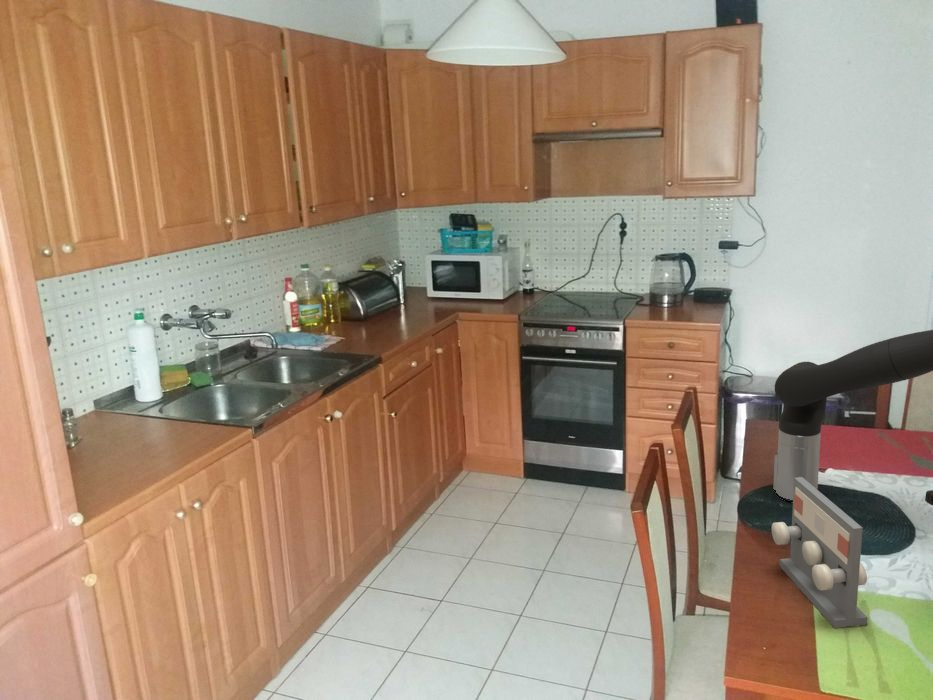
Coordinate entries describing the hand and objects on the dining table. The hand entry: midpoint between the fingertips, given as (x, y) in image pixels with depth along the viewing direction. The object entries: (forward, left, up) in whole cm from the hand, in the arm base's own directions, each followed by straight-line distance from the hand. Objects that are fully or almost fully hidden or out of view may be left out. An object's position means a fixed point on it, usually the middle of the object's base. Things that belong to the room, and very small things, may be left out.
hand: (928, 498), depth 133 cm
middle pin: (-11, -11, -16) cm, 22 cm away
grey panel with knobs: (-11, -12, -23) cm, 28 cm away
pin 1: (-19, -11, -16) cm, 27 cm away
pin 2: (-4, -15, -16) cm, 22 cm away
